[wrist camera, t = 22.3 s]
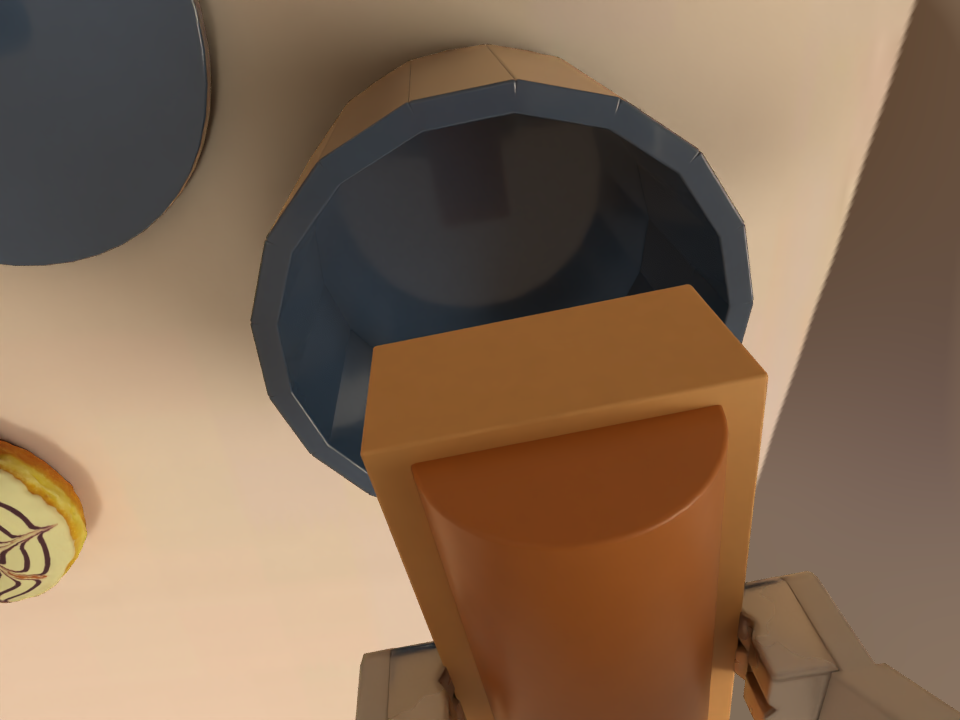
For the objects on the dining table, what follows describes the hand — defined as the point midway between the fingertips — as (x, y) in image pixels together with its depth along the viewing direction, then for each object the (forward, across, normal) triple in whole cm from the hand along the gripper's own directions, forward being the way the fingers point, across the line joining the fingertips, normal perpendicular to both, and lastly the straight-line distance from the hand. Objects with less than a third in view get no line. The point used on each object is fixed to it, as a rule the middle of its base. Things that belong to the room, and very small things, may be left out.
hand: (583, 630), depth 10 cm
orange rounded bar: (+2, 0, 0) cm, 2 cm away
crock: (+18, 0, 0) cm, 19 cm away
